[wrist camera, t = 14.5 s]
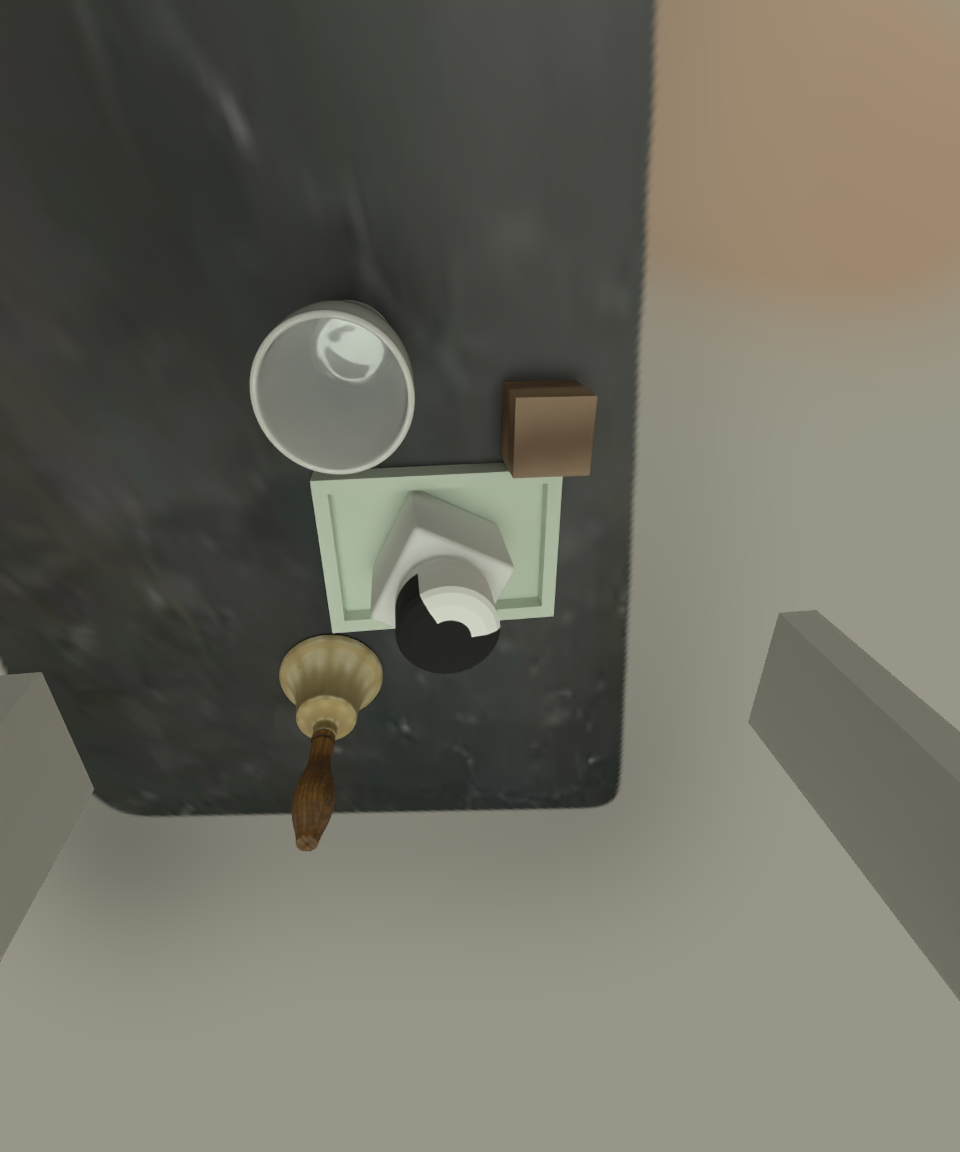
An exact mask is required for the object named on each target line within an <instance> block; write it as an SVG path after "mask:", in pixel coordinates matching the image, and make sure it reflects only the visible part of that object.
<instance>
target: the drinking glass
mask: <svg viewBox="0 0 960 1152" xmlns="http://www.w3.org/2000/svg"><path fill="white" fill-rule="evenodd" d="M250 397H251V403H252V407H253V410H254V413H255V416H256V419H257V421H258V423H259V425H260V427H261V428H262V430H263V432H264V433H265V435H266V436H267V438H268V439H269V440H270V441H271V443H272V444H273V445H274V446H275V447H276V448H277V449H278V450H279V451H280V452H281V453H283V454H284V455H285V456H286V457H288V458H289V459H291V460H292V461H294V462H296V463H297V464H299V465H301V466H303V467H306V468H308V469H311V470H314V471H317V472H321V473H327V474H337V475H339V474H352V473H357V472H361V471H364V470H367V469H370V468H372V467H374V466H376V465H378V464H379V463H381V462H382V461H384V460H385V459H387V458H388V457H389V456H390V455H391V454H392V453H393V452H394V451H395V450H396V449H397V448H398V447H399V445H400V444H401V443H402V441H403V440H404V438H405V436H406V434H407V432H408V430H409V428H410V425H411V422H412V418H413V413H414V406H415V381H414V374H413V369H412V365H411V361H410V358H409V355H408V353H407V351H406V348H405V346H404V344H403V342H402V341H401V339H400V337H399V336H398V334H397V333H396V332H395V330H394V329H393V328H392V327H391V326H390V325H389V324H388V322H387V321H386V319H385V318H384V317H383V316H382V315H381V314H380V313H379V312H378V311H377V310H376V309H374V308H373V307H371V306H369V305H367V304H365V303H362V302H359V301H355V300H327V301H320V302H315V303H312V304H309V305H306V306H304V307H302V308H299V309H297V310H296V311H294V312H292V313H291V314H289V315H288V316H287V317H285V318H284V319H283V320H282V321H280V322H279V323H278V324H277V325H276V326H275V327H274V328H273V330H272V331H271V332H270V333H269V334H268V336H267V337H266V338H265V339H264V341H263V342H262V344H261V345H260V347H259V349H258V351H257V353H256V355H255V358H254V360H253V364H252V368H251V373H250Z"/></svg>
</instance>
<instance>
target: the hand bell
mask: <svg viewBox="0 0 960 1152" xmlns="http://www.w3.org/2000/svg"><path fill="white" fill-rule="evenodd" d="M279 678H280V683H281V686H282V689H283V691H284V693H285V694H286V696H287V697H288V698H289V699H290V700H291V701H292V702H293V703H294V704H295V705H296V721H297V724H298V727H299V728H300V729H301V731H302V732H303V733H304V734H305V735H307V736H309V737H310V738H311V747H310V755H309V761H308V764H307V767H306V769H305V770H304V772H303V773H302V775H301V777H300V779H299V781H298V784H297V787H296V790H295V793H294V797H293V803H292V820H293V826H294V830H295V835H296V846H297V848H298V849H299V850H302V851H312V850H314V849H315V848H316V847H317V846H318V843H319V840H320V838H321V836H322V834H323V832H324V830H325V829H326V827H327V825H328V823H329V820H330V818H331V815H332V812H333V807H334V799H335V783H334V778H333V774H332V770H331V760H332V754H333V749H334V744H335V740H337V739H340V738H342V737H344V736H346V735H347V734H348V733H349V732H350V731H351V730H352V729H353V728H354V726H355V724H356V721H357V716H358V712H359V710H361V709H362V708H364V707H365V706H367V705H368V704H369V703H370V702H371V701H372V700H373V699H374V698H375V696H376V695H377V694H378V692H379V690H380V688H381V685H382V681H383V670H382V665H381V663H380V661H379V659H378V657H377V656H376V654H375V653H374V652H373V651H372V650H371V649H370V648H369V647H367V646H366V645H364V644H363V643H361V642H360V641H358V640H355V639H352V638H350V637H347V636H341V635H320V636H315V637H312V638H309V639H306V640H304V641H302V642H300V643H298V644H297V645H296V646H294V647H293V648H292V649H291V650H290V651H289V652H288V653H287V654H286V656H285V657H284V659H283V661H282V663H281V666H280V671H279Z"/></svg>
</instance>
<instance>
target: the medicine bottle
mask: <svg viewBox="0 0 960 1152" xmlns="http://www.w3.org/2000/svg"><path fill="white" fill-rule="evenodd" d="M514 571H515V568H514V565H513V563H512V560H511V558H510V555H509V552H508V550H507V547H506V545H505V542H504V540H503V537H502V535H501V532H500V530H499V527H498V525H496V524H494V523H492V522H490V521H487V520H485V519H483V518H481V517H478V516H476V515H474V514H471V513H469V512H467V511H464V510H462V509H460V508H457V507H455V506H453V505H451V504H448V503H446V502H444V501H441V500H439V499H437V498H434V497H432V496H430V495H428V494H425V493H423V492H421V491H418V490H411V491H410V492H409V493H408V495H407V497H406V499H405V501H404V503H403V505H402V508H401V510H400V512H399V514H398V516H397V518H396V520H395V522H394V524H393V526H392V528H391V530H390V532H389V534H388V537H387V539H386V541H385V543H384V545H383V547H382V549H381V551H380V553H379V555H378V557H377V559H376V561H375V563H374V566H373V569H372V589H371V609H370V616H371V619H372V620H374V621H376V622H379V623H382V624H385V625H388V626H391V627H394V628H395V631H396V640H397V644H398V647H399V649H400V651H401V652H402V654H403V655H404V656H405V658H406V659H407V660H408V661H410V662H411V663H412V664H413V665H415V666H417V667H418V668H421V669H423V670H426V671H429V672H434V673H444V674H447V673H456V672H460V671H464V670H467V669H469V668H471V667H473V666H475V665H477V664H478V663H480V662H481V661H483V660H484V659H485V658H486V657H487V656H488V655H489V654H490V653H491V651H492V650H493V648H494V647H495V645H496V643H497V641H498V638H499V634H500V621H499V616H498V613H497V610H496V606H495V604H496V602H497V601H498V599H499V597H500V596H501V594H502V592H503V590H504V589H505V587H506V585H507V584H508V582H509V580H510V579H511V577H512V575H513V574H514Z"/></svg>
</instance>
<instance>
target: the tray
mask: <svg viewBox="0 0 960 1152" xmlns="http://www.w3.org/2000/svg"><path fill="white" fill-rule="evenodd" d="M562 479H563V476H562V477H536V478H513V477H512V475H511V474H510V472H509V470H508V468H507V466H506V464H505V462H501V463H480V464H459V465H437V466H416V467H394V468H373V469H367V470H364V471H361V472H357V473H352V474H339V475H337V474H327V473H321V472H317V471H313V474H312V477H311V480H310V485H311V491H312V498H313V505H314V512H315V518H316V525H317V532H318V538H319V545H320V552H321V559H322V565H323V572H324V579H325V585H326V592H327V599H328V606H329V612H330V619H331V626H332V633H342V632H355V631H368V630H381V629H394V627H391V626H388V625H385V624H382V623H379V622H376V621H374V620H372V619H371V616H370V609H371V589H372V569H373V566H374V563H375V561H376V559H377V557H378V555H379V553H380V551H381V549H382V547H383V545H384V543H385V541H386V539H387V537H388V534H389V532H390V530H391V528H392V526H393V524H394V522H395V520H396V518H397V516H398V514H399V512H400V510H401V508H402V505H403V503H404V501H405V499H406V497H407V495H408V493H409V492H410V491H411V490H418V491H421V492H423V493H425V494H428V495H430V496H432V497H434V498H437V499H439V500H441V501H444V502H446V503H448V504H451V505H453V506H455V507H457V508H460V509H462V510H464V511H467V512H469V513H471V514H474V515H476V516H478V517H481V518H483V519H485V520H487V521H490V522H492V523H494V524H496V525H498V527H499V530H500V532H501V535H502V537H503V540H504V542H505V545H506V547H507V550H508V552H509V555H510V558H511V560H512V563H513V565H514V568H515V571H514V574H513V575H512V577H511V579H510V580H509V582H508V584H507V585H506V587H505V589H504V590H503V592H502V594H501V596H500V597H499V599H498V601H497V602H496V604H495V606H496V610H497V613H498V616H499V620H510V619H523V618H536V617H549V616H554V601H555V586H556V570H557V555H558V540H559V524H560V509H561V494H562Z"/></svg>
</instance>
